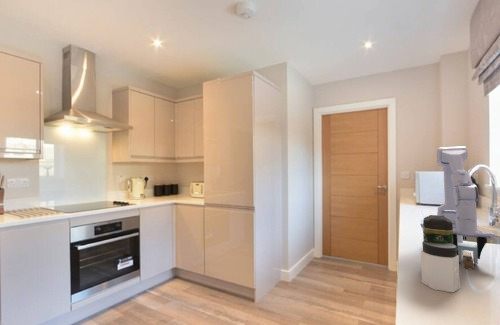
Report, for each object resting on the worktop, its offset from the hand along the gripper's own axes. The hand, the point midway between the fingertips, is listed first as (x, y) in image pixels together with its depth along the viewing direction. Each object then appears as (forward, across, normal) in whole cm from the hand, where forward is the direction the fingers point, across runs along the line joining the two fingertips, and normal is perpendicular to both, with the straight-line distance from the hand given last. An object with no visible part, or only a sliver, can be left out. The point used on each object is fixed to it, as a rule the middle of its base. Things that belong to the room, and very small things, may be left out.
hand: (467, 256), depth 93 cm
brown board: (+2, 0, 0) cm, 2 cm away
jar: (+3, -8, -28) cm, 30 cm away
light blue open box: (+1, 0, 0) cm, 1 cm away
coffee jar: (+3, -8, -18) cm, 19 cm away
